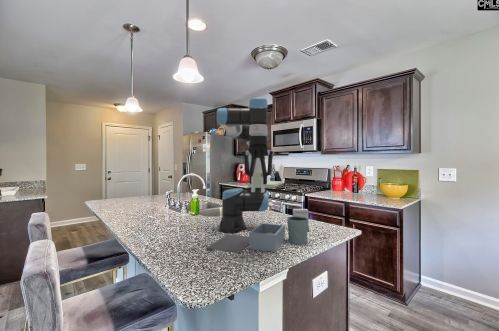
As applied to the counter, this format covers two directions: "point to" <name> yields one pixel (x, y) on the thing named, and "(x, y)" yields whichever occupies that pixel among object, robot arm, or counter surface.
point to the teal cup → (297, 229)
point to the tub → (267, 237)
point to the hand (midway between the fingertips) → (258, 191)
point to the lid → (258, 181)
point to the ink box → (301, 214)
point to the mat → (230, 243)
